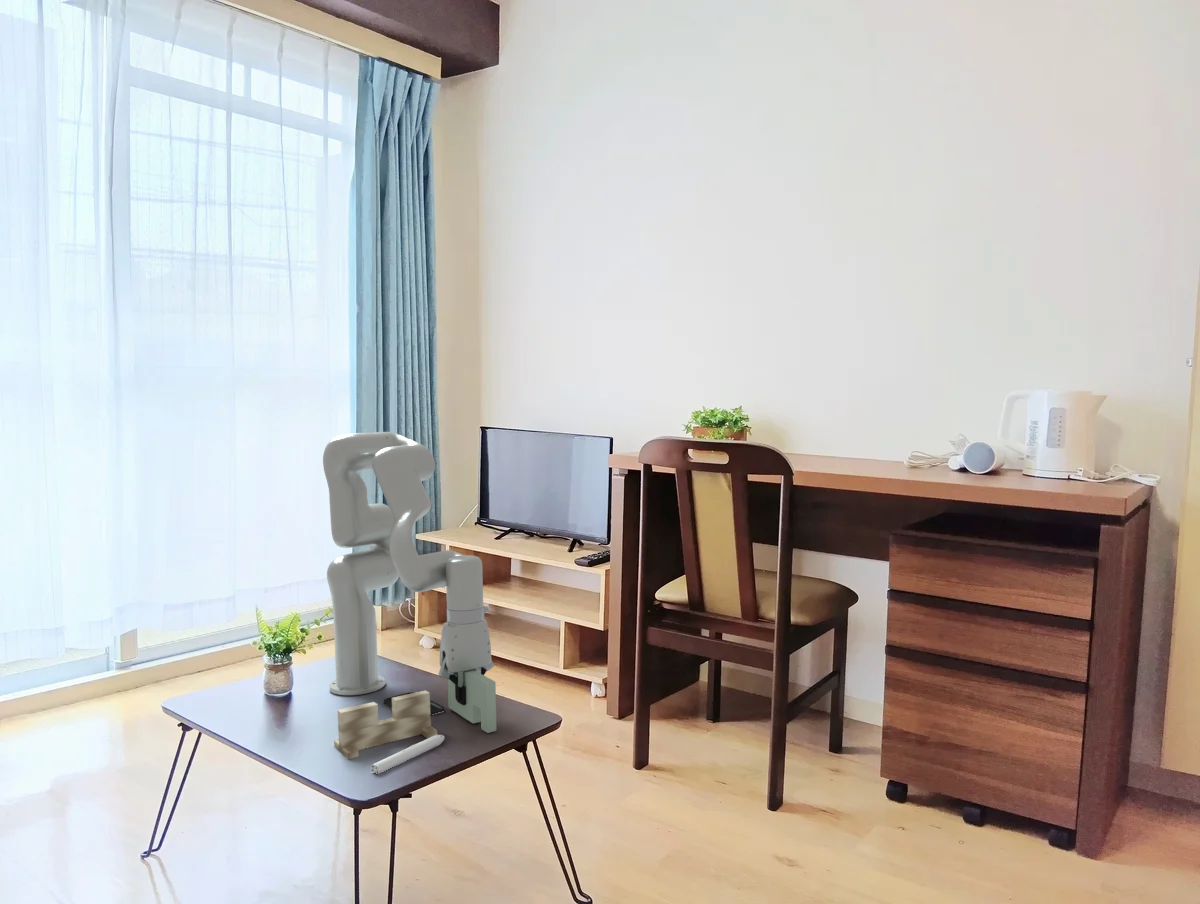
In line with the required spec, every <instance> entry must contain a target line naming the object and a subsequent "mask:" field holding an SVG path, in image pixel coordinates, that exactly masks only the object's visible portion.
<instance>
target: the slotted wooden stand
mask: <svg viewBox="0 0 1200 904" xmlns="http://www.w3.org/2000/svg"><path fill="white" fill-rule="evenodd" d="M415 692H416V693H411V694H407V695H402V696H398V697H393V696H392V697H393V698H392V708H391V711H392V712H391V715H392V716H391V717H390V718H386V719H382V720H379V704H378V703H377V702H375V701H372V702H367V703H362V704H359V705H353V706H349V707H345V708H339V709H337V724H338V725H337V726H338V727H337V728H338V730H337V731H338V738H337V739H334V740H333V746H334V748H336V749H337V750H338V751H339V752H340V753H341V754H342V756H344V757H345V758H346V759H347V760H351V759H355V758H359V751H362V750H365V748H366V749H369V747H370V748H372V747H373V746H374V747H377V746H380V745H385V744H388V742H389V743H393V742H397V741H401V740H404V739H408V738H412V737H416V736H420V734H421V735H422V736H424V737H425V738H426V739H428V738H430V737H432V736H434V735H438V729H436V728H434V727H433V726H432V719H431V717H432V716H430V715H431V714H430V700H431V696H430V695H431V693H430V692H429V691H427V690H421V691H415ZM396 740H397V741H396ZM392 741H393V742H392ZM384 743H385V744H384Z"/></svg>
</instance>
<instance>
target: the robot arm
mask: <svg viewBox="0 0 1200 904" xmlns="http://www.w3.org/2000/svg"><path fill="white" fill-rule="evenodd" d="M322 464H323V465H322V466H323V471H324V476H325V479H326V483H327V487H328V495H329V496H328V499H329V512H330V513H329V515H330V528H331V537H332V540H333V542H334V544H335V545H336V546H338V547H339V548H343V549H350V548H351V549H352V548H358V547H365V546H369V548H370V549H369V550H364V551H363V550H362V551H357V552H351V553H346V554H343V555H340V556H338V557H336V558H334V559H333V560H332V561H331V562H330V563H329V565H328V567H327V570H326V580H327V584H328V588H329V591H330V597H331V604H332V615H333V634H334V635H333V636H334V637H333V638H334V657H335V659H334V661H335V679H334V680H333V681H331V683H330V684H329V692H331V693H332V694H334V695H339V696H359V695H365V694H366V695H367V694H371V693H373V692H377V691H378V690H381V689H382V688H383V687H384V686H385V685H386V678H385V677H383V676H382V675H379V669H378V668H379V667H378V661H379V659H378V642H377V637H378V636H377V615H376V609H375V606H374V604H373V602H372V601H371V600H370V598H369V597H368V594H367V593H370V592H372V591H375V590H379V589H384V588H389V587H391V586H393V585H394V584H395V583H396V582H397V581H398V579H399V578H400V580H401V582H402V584H403V585H404V586H405V588H407V589H408V590H409V591H411V592H414V593H422V592H427V591H432V590H436V589H440V588H445V587H446V591H445V592H446V622H443V624H442V629H441V634H440V635H441V636H440V645H439V667H440V669H439V672H438V677H439V678H441V679H443V680H447V681H448V680H450V681H452V682H453V683H454V684H455V698H456V700H457V702H458V703H460V704H461V705H466V687H465V686H464V683H463V672H464V671H469V670H475V671H476V672H478V673H480V674H482V675H484V676H485V674H486V673H487V672H488V671H490V670H491V669H493V668H494V666H495V664H494V662H493V660H492V647H491V646H492V645H491V637H490V632H489V625H488V622H487V619H486V618H485V614H486V613H487V614H488V613H489V611H490V609H489V606H485V605H484V586H483V585H484V583H483V582H484V581H483V579H484V577H483V573H484V572H483V562H482V559H481V558H480V557H479V556H476V555H471V554H470V555H469V554H462V553H460V552H458V551H455V550H449V549H447V550H441V551H436V552H429V553H426V554H420V555H419V553H418V551H417V548H416V547H415V546H416V545H415V544H414V541H413V536H412V535H413V534H412V533H413V532H412V531H413V527H414V525H415V523H416V522H418V521H420V520H421V519H422V518H423V517H425V516H426V515H427V514H428V513H429V511H430V510H431V508H432V501H431V499H430V498H429V495H428V493H427V491H426V489H425V487H424V484H423V483H422V482H423V481H427V480H429V479H431V478H432V476H433V475H434V473H435V469H436V461H435V458H434V455H433V453H432V452H431V451H430V450H429V448H428V447H426V446H425V445H423V444H422V443H419V442H418V441H415V440H413V439H410V438H408V437H405V436H403V435H401V434H399V433H396V432H392V431H375V432H353V433H346V434H341V435H337V436H336V437H333V438H332V439H331V440H329V442H328V443H327V444H326V446H325V448H324V450H323V455H322ZM362 470H373V473H374V475H375V477H376V480H377V482H378V485H379V487H380V489H381V492H382V494H383V496H384V498H385V500H386V503H387V505H386V504H385V503H369V502H368V488H367V485H366V482H365V481H364V479H363V477H361V475H360V474H359V472H358V471H362ZM448 671H449V672H450V673H448ZM451 673H452V674H451Z"/></svg>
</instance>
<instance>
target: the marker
mask: <svg viewBox="0 0 1200 904" xmlns="http://www.w3.org/2000/svg"><path fill="white" fill-rule="evenodd" d="M445 737H446V736H444V735H443V734H437V735H434V736H432V737H430V738H426V739H424V740H422V741H420V742H418V743H415V744H412V745H410V746H409V747H407V748H404V749H401V750H400V751H398V752H396V753H394V754H392V755H390V756H388V757H386V758H384V759H381V760H379V761H377V762H374V763H373V764H372V765H371V766H370V772H371V773H372V772H373V773H374V772H376V773H375V775H376V774H377V773H378V775H380V774H379V773H381V772H383V773H384V771H385V772H387V771H389V770H391V769H393V768H395V767H397V766H399V765H402V764H403V763H405V762H407V760H408V761H409V759H410V760H412V759H413V758H415V757H418V756H420V755H422V754H424V753H426V752H428V751H431V750H432V749H434V748H436V747H438V746H441V744H442V743H443V742H444V740H445ZM411 758H412V759H411ZM396 765H397V766H396ZM394 766H395V767H394ZM392 767H393V768H392ZM390 768H391V769H390ZM388 769H389V770H388ZM386 770H387V771H386ZM381 774H382V773H381Z"/></svg>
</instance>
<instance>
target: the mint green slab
mask: <svg viewBox="0 0 1200 904" xmlns="http://www.w3.org/2000/svg"><path fill="white" fill-rule="evenodd" d="M448 673H450V672H449V671H448ZM451 674H452V673H451ZM463 683H464V686H465V687H466V705H461V704H460V703H458V702H457V700H456V698H455V684H454V683H453V682H452V681H450V680H448V679H447V707H448V708H449V709H450V710H451V711H453V712H454V713H456V714H458V715H459V716H461V717H462V718H463V719H465V720H466V721H469V722H470V723H471V724H476V723H477V724H478V723H480V725H481V726H480V727H481V728H480V729H481V730H482V731H484V732H486V734H487V733H488V734H490V733H493V732H497V697H496V695H497V693H496V692H497V689H496V688H497V687H496V685H497V684H496V681H495V680H493V679H491V678H489V677H487V676H486V675H485V674H484V675H482V674H480V673H478V672H476V671H475V670H469V671H464V672H463Z"/></svg>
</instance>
